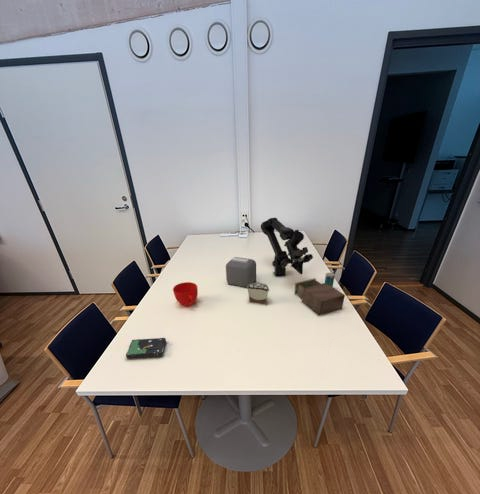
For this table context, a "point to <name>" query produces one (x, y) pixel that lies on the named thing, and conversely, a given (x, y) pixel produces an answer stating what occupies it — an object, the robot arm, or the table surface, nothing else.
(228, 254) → the table surface
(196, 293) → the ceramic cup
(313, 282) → the drawer
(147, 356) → the disk drive
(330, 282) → the tea tin
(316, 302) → the cabinet
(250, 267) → the alarm clock
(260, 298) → the food container
